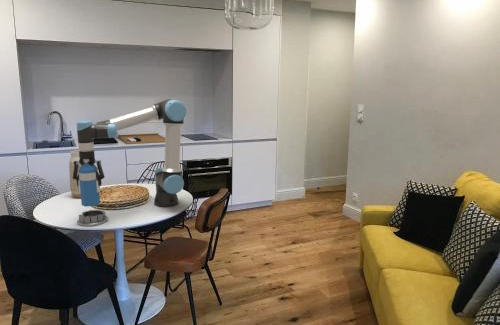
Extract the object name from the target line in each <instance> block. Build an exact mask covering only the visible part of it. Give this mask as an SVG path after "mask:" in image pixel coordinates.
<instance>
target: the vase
mask: <svg viewBox="0 0 500 325" xmlns="http://www.w3.org/2000/svg"><path fill="white" fill-rule="evenodd" d="M79 151H80V150H79V149H76V150H72V151H70V158H69V161H68V164H69V167H68V168H69V170H68V171H69V187H70V188H69V189H70V192H71V195H72V197H74V198H76V199H81V192H79V186H77V180H76V179H73V172H74V161H76V160H77V161H79V160H80V158H79ZM80 167H81V164H80V163H79V166H78V173H79V168H80ZM78 173H77V176H78Z"/></svg>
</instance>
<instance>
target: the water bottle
mask: <svg viewBox="0 0 500 325" xmlns="http://www.w3.org/2000/svg"><path fill="white" fill-rule="evenodd" d="M83 161H84V162H85V163H84V164H83V165H82V166H81V167H80V168H79V180H80V192H81V198H80V201H81V206H83V207H94V206H99V205H100V203H101V200H100V199H101V197H100V196H101V195H100V192H97V184H96V180H98V179H97V178H96V171H98V168H97V165H96V164H94V165H92V166H91V165H89V164H88V163H87V162H89V159H83ZM98 172H99V171H98Z"/></svg>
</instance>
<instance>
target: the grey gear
mask: <svg viewBox="0 0 500 325" xmlns="http://www.w3.org/2000/svg"><path fill="white" fill-rule="evenodd" d="M108 221H109V216H107V212H106V211H105V210H103V209H91V210H86V211H83V212H81V214H78V219H77V220H76V225H77V226H79V227H86V228H87V227H98V226H101V225H104V224H106V223H107V222H108Z"/></svg>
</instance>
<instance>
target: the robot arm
mask: <svg viewBox="0 0 500 325" xmlns="http://www.w3.org/2000/svg"><path fill="white" fill-rule="evenodd" d="M186 116H187V108H186V105H185V104H184V102H183V101H180V100H178V99H165V100H162V101H159V102H157V103H153V104H152V105H150V107H146V108H144V109H139V110H137V111H133V112H130V113H127V114H123V115H119V116H116V117H112V118H109V119H106V120H103V121H102V120H101V121H97V122H96V123H95V124H93V122H92V121H91V120H79V121H77V122H76V134H77V142H78V143H77V144H78V150H80V151H79V158H80V160H79V161H77V160H76V161H74V172H73V179H76V180H77V186H79V192H80V180H79V173H78V166H79V163H80V164H81V166H82V165H83V164H84V163H85V162H84V161H83V159H89V162H87V163H88V164H89V165H91V166H92V165H96V167H97V169H98V171H96V178H97V179H98V180H96V184H97V192H99V193H100V192H101V186H102V180H104V179H105V174H104V170H103V167H102V161H101V159H100V160H98V159H96V157H95V150H94V149H95V145H94V143H95V142H94V139H112V138H116V137H117V134H118V133H117V132H119V131H121V130H125V129H129V128H131V127H134V126H138V125H141V124H144V123H148V122H151V121H160V120H162V123H163V125H164V127H165V135H164V136H165V138H164V141H165V142H164V167H163V166H162V167H159V168H156V169H155V170H154V171H155V172H154V175H155V190H156V191H155V197H154V200H153V205H154V206H156V207H160V208H168V207H169V208H170V207H175V206H177V205H179V204H180V201H179V200H180V199H179V197H178V193H180V192H181V191H182V190H183V188H184V186H185V181H184V179H183V170H182V169H181V167H180V164H181V163H180V162H181V158H180V157H181V156H180V155H181V135H182V134H181V132H182V131H181V128H182V126H183V125H184V123H185V122H184V121H185V120H184V118H186ZM77 173H78V176H77Z"/></svg>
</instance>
